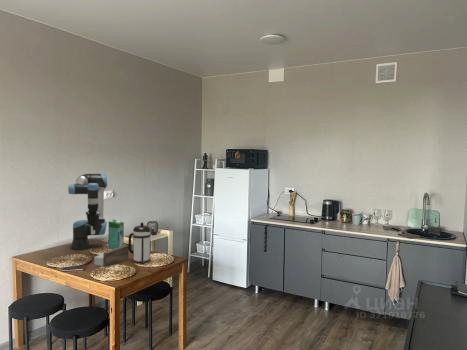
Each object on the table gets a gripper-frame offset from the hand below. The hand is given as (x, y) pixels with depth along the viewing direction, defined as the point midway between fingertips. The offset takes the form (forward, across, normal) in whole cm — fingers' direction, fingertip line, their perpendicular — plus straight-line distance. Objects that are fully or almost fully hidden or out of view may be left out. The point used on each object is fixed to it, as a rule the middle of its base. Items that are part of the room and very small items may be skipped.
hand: (93, 234), depth 267 cm
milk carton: (+20, -4, +28) cm, 35 cm away
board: (+19, +21, +3) cm, 29 cm away
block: (+20, +15, -4) cm, 25 cm away
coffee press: (+20, +35, +13) cm, 42 cm away
